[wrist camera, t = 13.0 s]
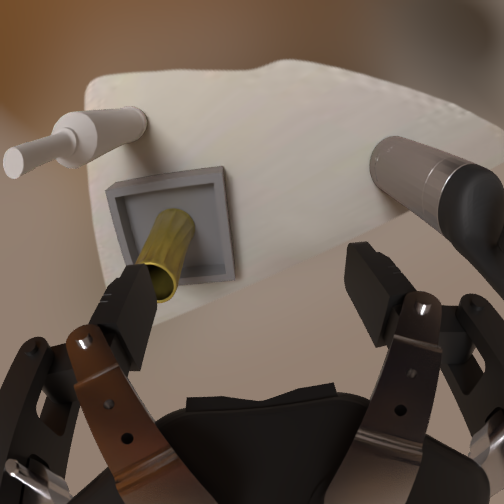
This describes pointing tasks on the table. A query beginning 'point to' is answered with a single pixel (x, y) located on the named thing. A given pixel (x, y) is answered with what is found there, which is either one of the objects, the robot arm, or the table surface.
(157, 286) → the vase
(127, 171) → the table surface
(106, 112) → the bottle
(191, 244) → the bin
